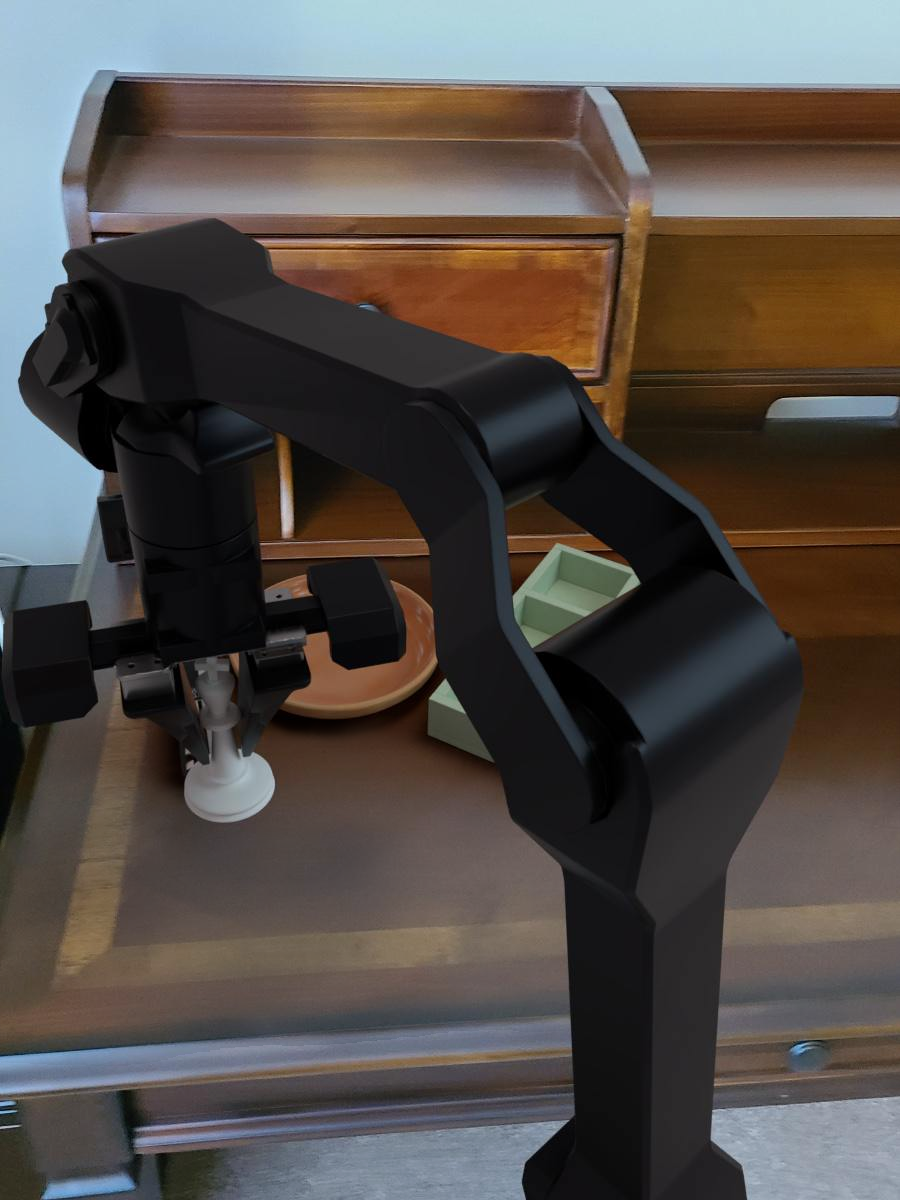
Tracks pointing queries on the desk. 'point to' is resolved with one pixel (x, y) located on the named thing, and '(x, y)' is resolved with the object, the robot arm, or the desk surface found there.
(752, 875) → the desk surface
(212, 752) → the chess piece
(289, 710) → the saucer
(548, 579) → the compartment tray
